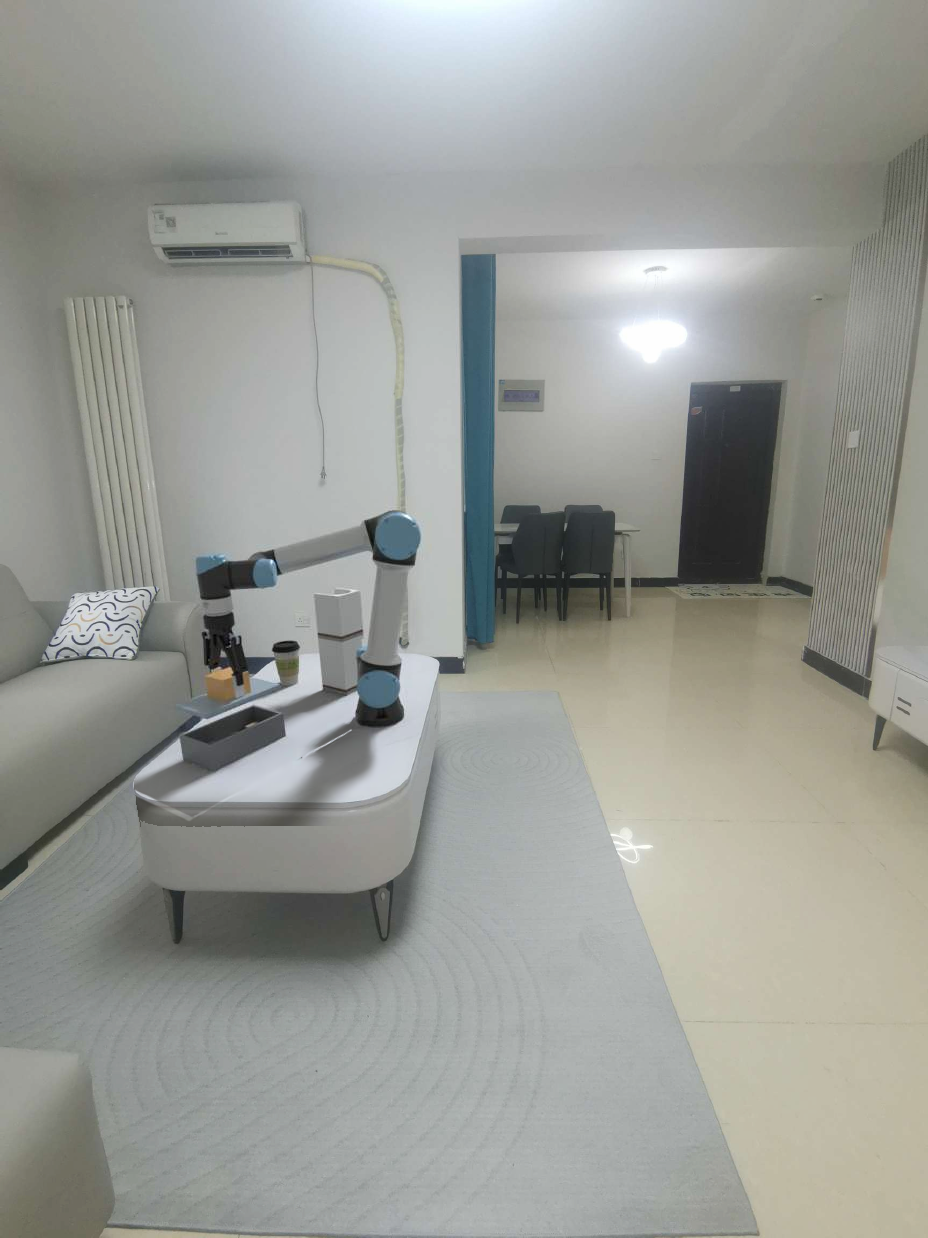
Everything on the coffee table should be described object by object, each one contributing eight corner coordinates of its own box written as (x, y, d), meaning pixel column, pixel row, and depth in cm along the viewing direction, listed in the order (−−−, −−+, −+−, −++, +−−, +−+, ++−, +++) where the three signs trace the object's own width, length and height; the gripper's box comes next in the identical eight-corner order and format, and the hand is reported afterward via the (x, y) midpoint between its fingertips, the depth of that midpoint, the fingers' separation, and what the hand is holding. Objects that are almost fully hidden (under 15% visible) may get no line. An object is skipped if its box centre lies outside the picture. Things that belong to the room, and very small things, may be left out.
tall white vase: (367, 685, 212) (360, 590, 203) (346, 695, 203) (338, 596, 194) (343, 680, 218) (336, 587, 209) (322, 689, 209) (313, 593, 200)
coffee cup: (278, 689, 210) (273, 649, 207) (273, 681, 219) (269, 642, 215) (306, 684, 215) (302, 645, 211) (300, 676, 223) (296, 638, 220)
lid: (281, 690, 168) (277, 664, 166) (205, 722, 148) (201, 692, 146) (251, 683, 175) (247, 657, 173) (175, 712, 155) (171, 683, 153)
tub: (286, 738, 171) (283, 713, 169) (213, 775, 152) (209, 746, 150) (256, 729, 178) (253, 704, 176) (183, 763, 159) (179, 735, 157)
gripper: (181, 611, 157) (193, 691, 163) (231, 620, 147) (242, 705, 152) (206, 606, 164) (217, 682, 169) (255, 613, 153) (266, 695, 158)
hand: (229, 693), depth 161 cm, fingers closed on lid, 8 cm apart
